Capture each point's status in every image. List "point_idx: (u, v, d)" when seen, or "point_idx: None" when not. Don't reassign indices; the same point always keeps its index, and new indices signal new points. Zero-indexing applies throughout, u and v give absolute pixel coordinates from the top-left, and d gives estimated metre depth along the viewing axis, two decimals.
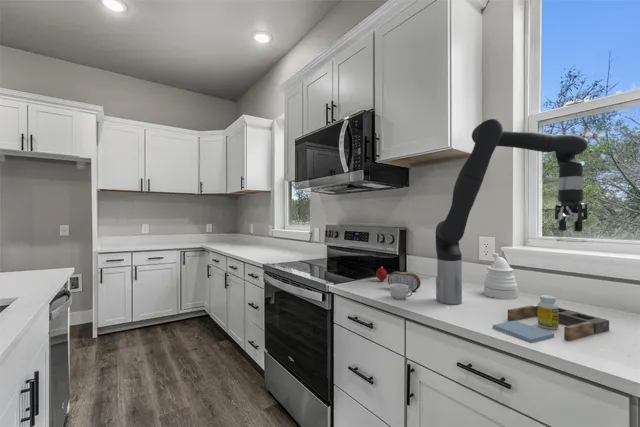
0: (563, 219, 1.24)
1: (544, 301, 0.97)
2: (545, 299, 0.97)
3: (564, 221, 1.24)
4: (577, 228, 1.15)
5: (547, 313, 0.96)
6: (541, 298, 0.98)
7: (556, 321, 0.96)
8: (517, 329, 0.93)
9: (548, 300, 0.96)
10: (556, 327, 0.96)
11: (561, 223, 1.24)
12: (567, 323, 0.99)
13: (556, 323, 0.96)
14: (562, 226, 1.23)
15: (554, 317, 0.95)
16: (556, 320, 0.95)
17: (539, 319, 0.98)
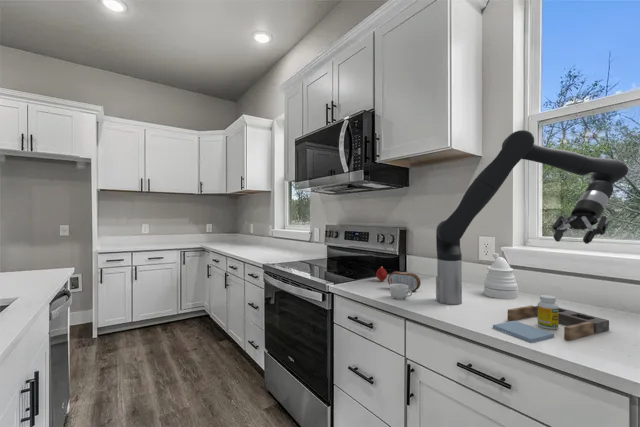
0: (562, 231, 1.08)
1: (544, 301, 0.97)
2: (545, 299, 0.97)
3: (562, 233, 1.07)
4: (588, 238, 0.98)
5: (547, 313, 0.96)
6: (541, 298, 0.98)
7: (556, 321, 0.96)
8: (517, 329, 0.93)
9: (548, 300, 0.96)
10: (556, 327, 0.96)
11: (560, 232, 1.07)
12: (567, 323, 0.99)
13: (556, 323, 0.96)
14: (559, 236, 1.07)
15: (554, 317, 0.95)
16: (556, 320, 0.95)
17: (539, 319, 0.98)
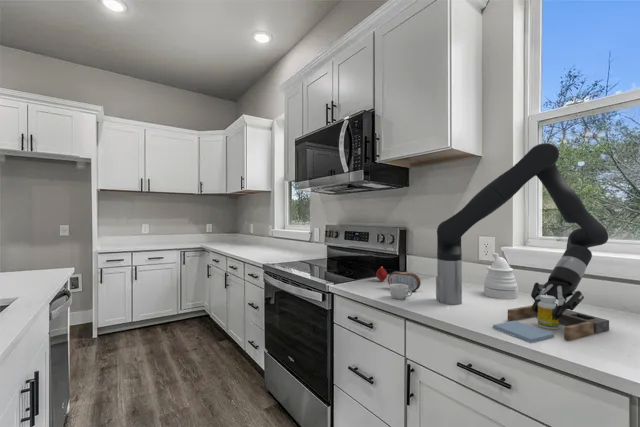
0: None
1: (544, 301, 0.97)
2: (545, 299, 0.97)
3: None
4: (557, 313, 0.94)
5: (547, 313, 0.96)
6: (541, 298, 0.98)
7: (556, 321, 0.96)
8: (517, 329, 0.93)
9: (548, 300, 0.96)
10: (556, 327, 0.96)
11: None
12: (567, 323, 0.99)
13: (556, 323, 0.96)
14: (537, 307, 1.00)
15: None
16: (556, 320, 0.95)
17: (539, 319, 0.98)
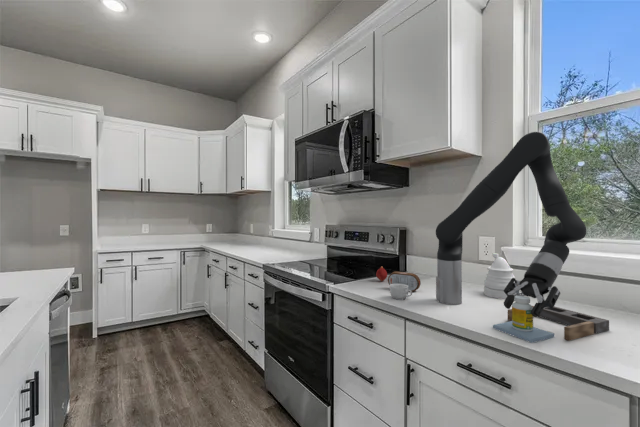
0: (513, 296, 0.98)
1: (518, 302, 0.93)
2: (519, 300, 0.92)
3: (513, 299, 0.98)
4: (536, 311, 0.89)
5: (521, 315, 0.92)
6: (515, 299, 0.94)
7: (530, 323, 0.91)
8: None
9: (522, 301, 0.92)
10: (530, 329, 0.91)
11: (510, 299, 0.97)
12: (567, 323, 0.99)
13: (530, 325, 0.91)
14: (509, 302, 0.97)
15: (529, 318, 0.91)
16: (530, 322, 0.91)
17: (513, 321, 0.94)
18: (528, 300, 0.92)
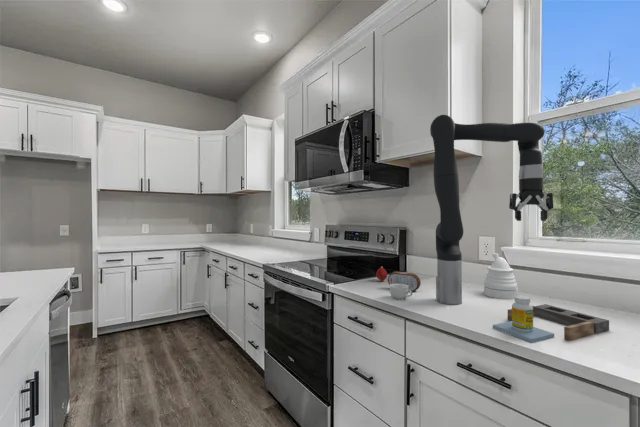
0: None
1: (518, 302, 0.93)
2: (519, 300, 0.92)
3: None
4: (546, 217, 1.15)
5: (521, 315, 0.92)
6: (515, 299, 0.94)
7: (530, 323, 0.91)
8: None
9: (522, 301, 0.92)
10: (530, 329, 0.91)
11: None
12: (567, 323, 0.99)
13: (530, 325, 0.91)
14: None
15: (529, 318, 0.91)
16: (530, 322, 0.91)
17: (513, 321, 0.94)
18: (528, 300, 0.92)
